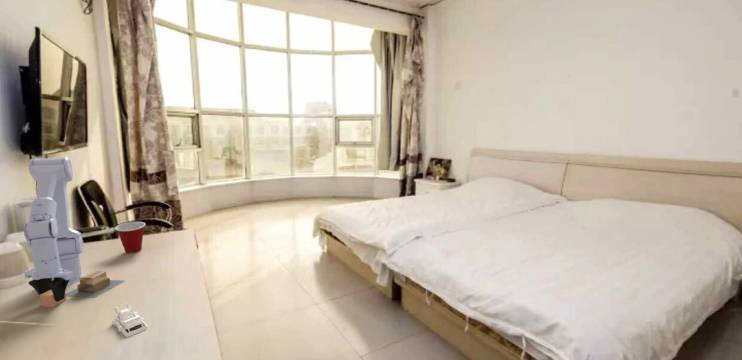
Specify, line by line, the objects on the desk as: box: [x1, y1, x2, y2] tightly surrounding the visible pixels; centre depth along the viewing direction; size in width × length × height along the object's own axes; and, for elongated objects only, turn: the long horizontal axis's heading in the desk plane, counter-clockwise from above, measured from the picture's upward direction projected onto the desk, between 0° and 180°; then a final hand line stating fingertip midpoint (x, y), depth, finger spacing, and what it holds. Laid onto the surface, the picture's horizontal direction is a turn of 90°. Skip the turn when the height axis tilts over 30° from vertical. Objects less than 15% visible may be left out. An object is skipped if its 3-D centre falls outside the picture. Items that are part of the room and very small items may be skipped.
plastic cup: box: [114, 221, 146, 254], centre depth 147 cm, size 11×11×12 cm
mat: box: [65, 279, 125, 299], centre depth 115 cm, size 12×12×1 cm
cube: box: [39, 290, 67, 308], centre depth 105 cm, size 4×4×4 cm
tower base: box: [76, 277, 111, 293], centre depth 114 cm, size 6×6×2 cm
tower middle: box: [78, 270, 108, 285], centre depth 114 cm, size 5×5×2 cm
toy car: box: [111, 302, 149, 338], centre depth 94 cm, size 6×12×4 cm, turn 52°
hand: (53, 299), depth 105 cm, fingers closed on cube, 4 cm apart
